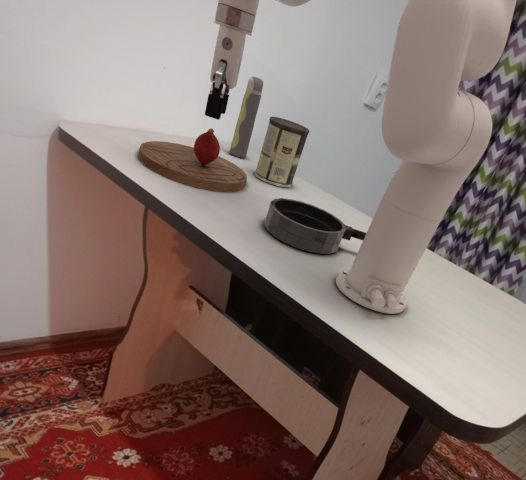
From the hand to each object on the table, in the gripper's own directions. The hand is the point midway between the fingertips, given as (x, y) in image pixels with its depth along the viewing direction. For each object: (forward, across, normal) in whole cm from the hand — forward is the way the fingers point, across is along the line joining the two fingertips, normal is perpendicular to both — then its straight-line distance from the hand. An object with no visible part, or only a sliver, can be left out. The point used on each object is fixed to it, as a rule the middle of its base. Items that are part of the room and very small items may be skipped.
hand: (215, 114), depth 99 cm
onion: (+11, 0, 0) cm, 11 cm away
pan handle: (+11, -21, -37) cm, 44 cm away
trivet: (+13, +2, +2) cm, 13 cm away
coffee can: (+13, +16, -16) cm, 26 cm away
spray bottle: (+13, +30, -6) cm, 33 cm away
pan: (+14, -20, -24) cm, 34 cm away
